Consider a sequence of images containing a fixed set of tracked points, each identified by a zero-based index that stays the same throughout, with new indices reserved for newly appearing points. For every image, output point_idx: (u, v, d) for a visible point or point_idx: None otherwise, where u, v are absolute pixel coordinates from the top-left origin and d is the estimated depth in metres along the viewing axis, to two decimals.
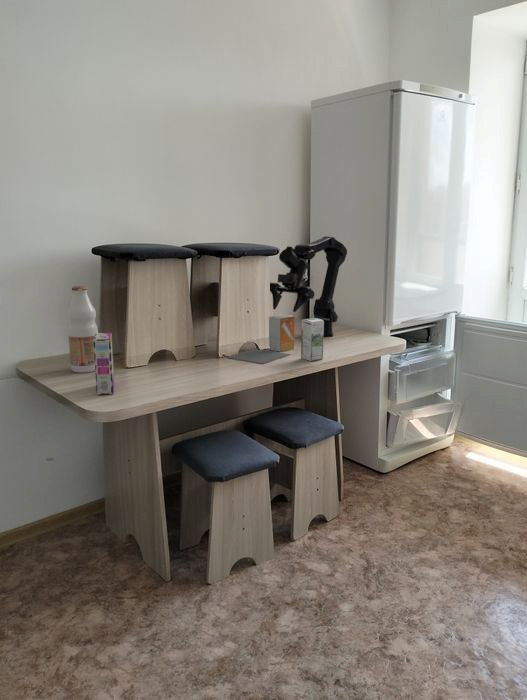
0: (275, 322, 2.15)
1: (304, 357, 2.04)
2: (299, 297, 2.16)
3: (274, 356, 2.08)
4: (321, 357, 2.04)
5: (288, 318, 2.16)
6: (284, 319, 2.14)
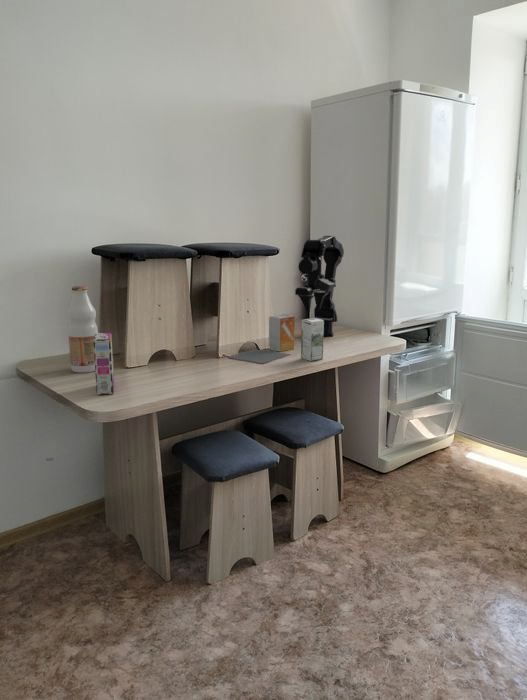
0: (275, 322, 2.15)
1: (304, 357, 2.04)
2: (324, 296, 2.31)
3: (274, 356, 2.08)
4: (321, 357, 2.04)
5: (288, 318, 2.16)
6: (284, 319, 2.14)
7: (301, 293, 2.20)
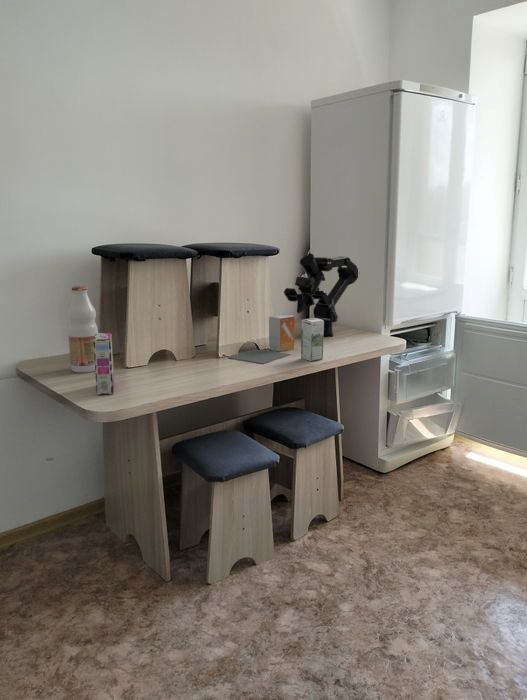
0: (275, 322, 2.15)
1: (304, 357, 2.04)
2: (305, 299, 2.27)
3: (274, 356, 2.08)
4: (321, 357, 2.04)
5: (288, 318, 2.16)
6: (284, 319, 2.14)
7: None
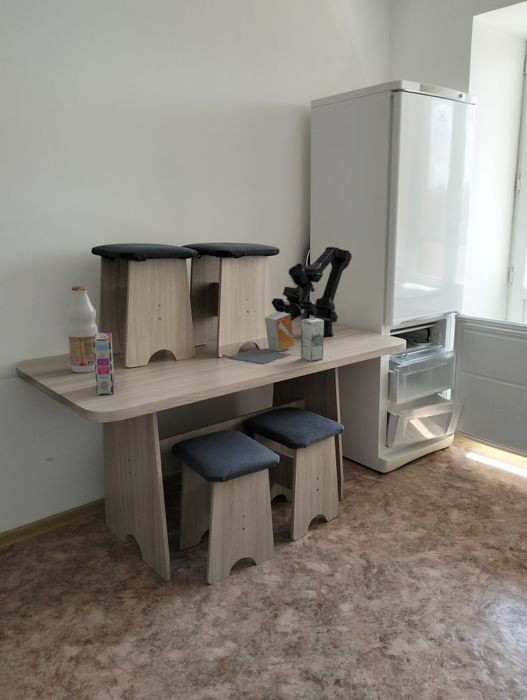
0: (271, 323, 2.14)
1: (304, 357, 2.04)
2: (292, 310, 2.21)
3: (274, 356, 2.08)
4: (321, 357, 2.04)
5: (284, 317, 2.14)
6: (280, 319, 2.13)
7: None
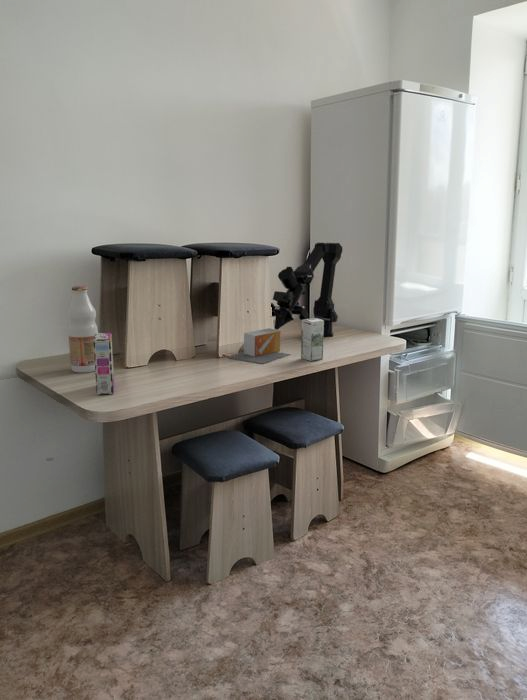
0: None
1: (304, 357, 2.04)
2: (283, 315, 2.16)
3: (274, 356, 2.08)
4: (321, 357, 2.04)
5: (255, 345, 2.06)
6: (256, 351, 2.07)
7: None
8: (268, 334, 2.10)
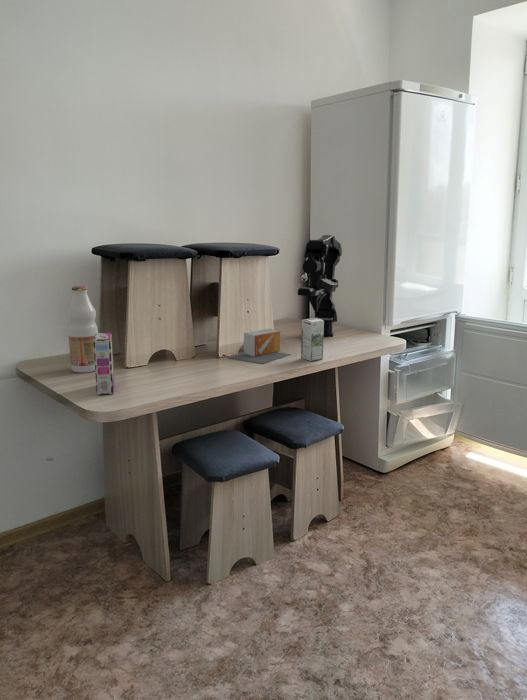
0: None
1: (304, 357, 2.04)
2: (321, 297, 2.27)
3: (274, 356, 2.08)
4: (321, 357, 2.04)
5: (255, 345, 2.06)
6: (256, 350, 2.07)
7: (303, 293, 2.19)
8: (268, 334, 2.10)
